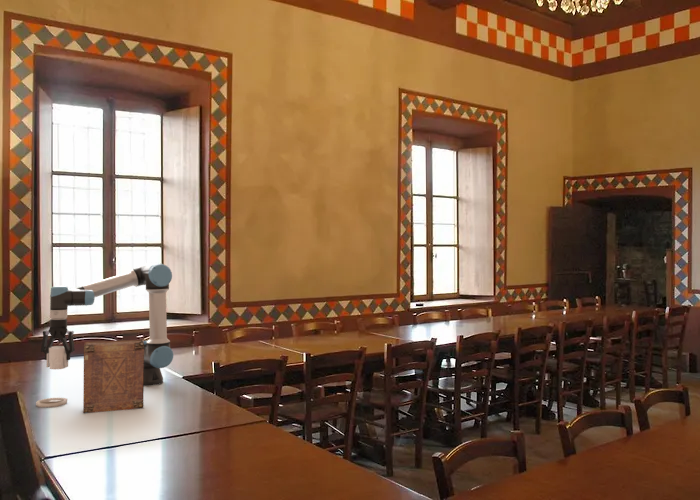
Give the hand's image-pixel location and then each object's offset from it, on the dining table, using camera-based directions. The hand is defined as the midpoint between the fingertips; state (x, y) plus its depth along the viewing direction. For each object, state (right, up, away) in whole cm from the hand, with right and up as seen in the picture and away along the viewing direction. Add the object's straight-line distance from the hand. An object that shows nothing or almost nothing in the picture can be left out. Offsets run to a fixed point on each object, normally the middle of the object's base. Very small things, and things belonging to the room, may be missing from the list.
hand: (57, 366), depth 299 cm
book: (+32, -16, -14) cm, 38 cm away
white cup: (0, -1, 0) cm, 1 cm away
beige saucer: (0, -16, -6) cm, 17 cm away
